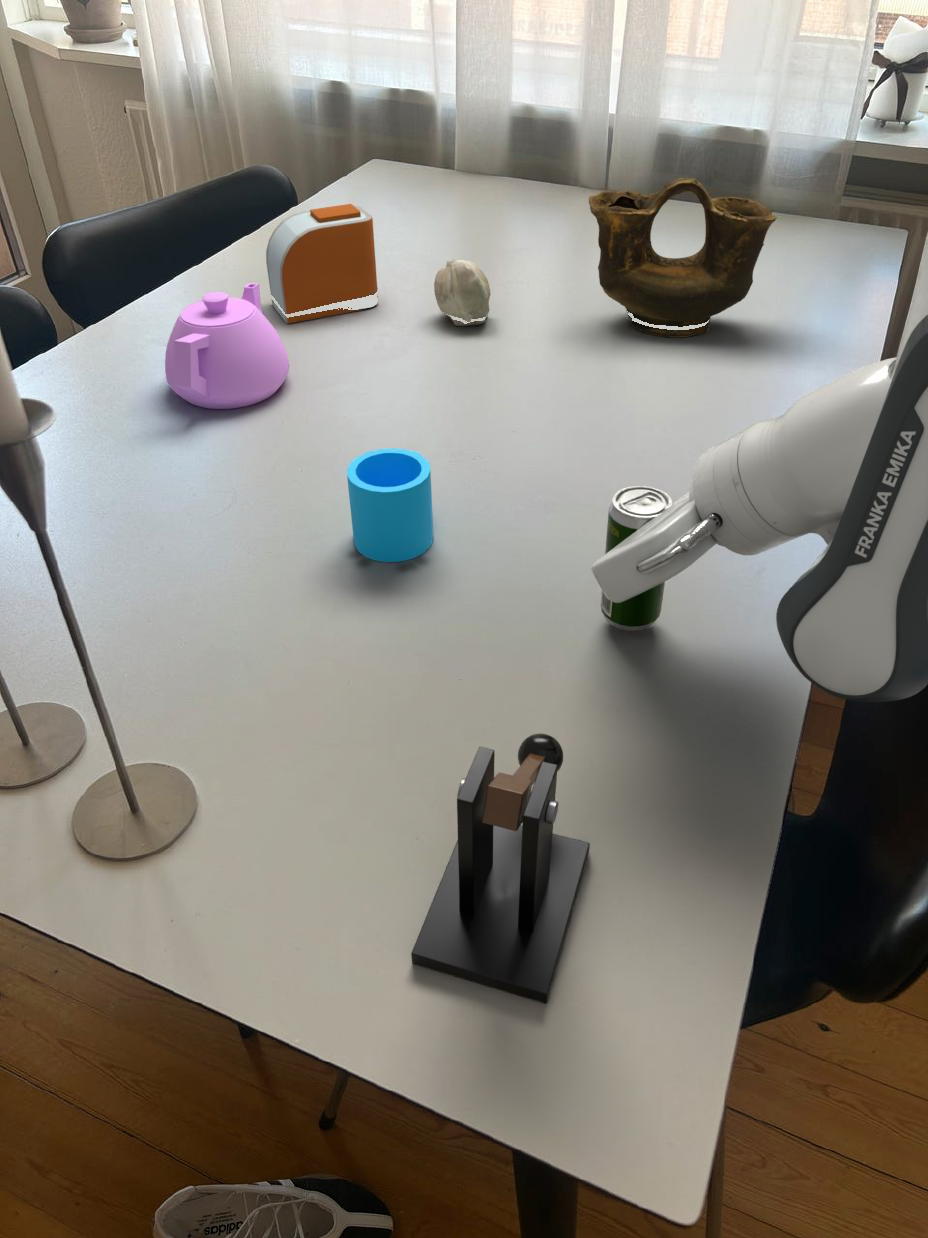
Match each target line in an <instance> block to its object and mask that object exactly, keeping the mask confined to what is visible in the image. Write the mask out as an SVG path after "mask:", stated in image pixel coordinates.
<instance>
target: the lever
mask: <svg viewBox="0 0 928 1238" xmlns="http://www.w3.org/2000/svg"><path fill="white" fill-rule="evenodd" d="M517 751H518V752H517V760H518V761H517V762H518V765H519V767H518V768H517V769H516V771H515V772H514V773H513V775H512V774H510V773H509V774H508V773H504V772H500V771H499V772H497V774H496V775H495V776H494V779H493V780H492V781H491V783H490V784H489V785H488V787H487V793H486V799H485V805H484V812H483V818H482V823H486V824H490V825H494V826H498V827H501V828H505V829H509V830H513V831H517V830H518V828H519V827H520V825H521V826H522V824H523V814H524V811H525V808H526V805H527V803H528V800H529V797H530V794H531V791H532V788H533V786H534V783H535V780H536V777H537V774H538V772H539V769H540V766H541V763H542V762H547V763H551V764H555V765H558V769H557V773H558V772H559V771H560V769H561V768H562V765H563V762H564V751H563V748H562V746H561V743H559V741H558V740H557V739H556V738H555V737H553V736H552V735H550V734H546V733H541V732H540V733H534V734H530V735H529V736H527V737H526V738H525V739H524V740H523V741H522V742H521V743H520V745H519V748H518V750H517Z"/></svg>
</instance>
